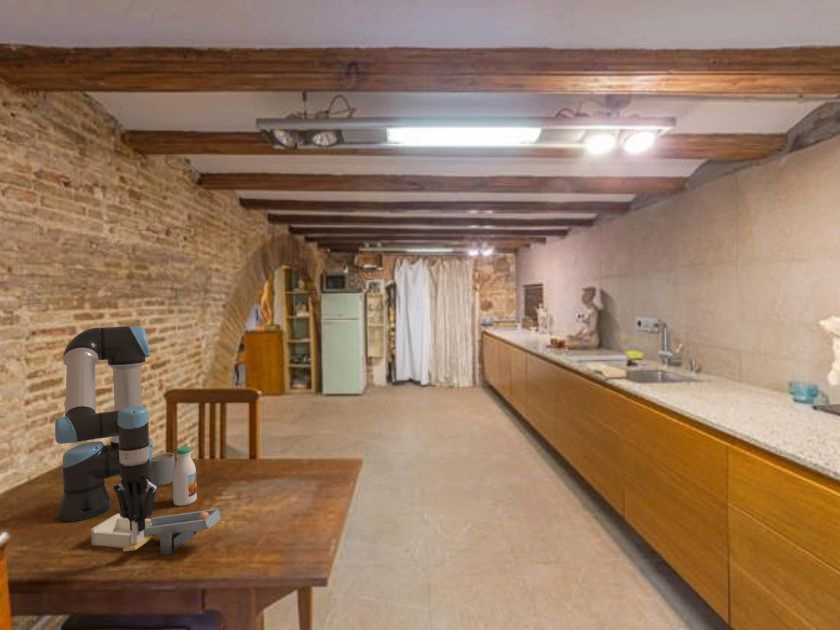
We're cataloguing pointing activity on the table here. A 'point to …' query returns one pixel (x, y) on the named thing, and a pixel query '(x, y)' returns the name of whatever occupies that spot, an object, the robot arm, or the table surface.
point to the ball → (203, 516)
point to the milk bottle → (184, 478)
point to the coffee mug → (162, 468)
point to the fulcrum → (173, 540)
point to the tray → (114, 532)
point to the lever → (177, 525)
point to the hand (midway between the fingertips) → (138, 541)
